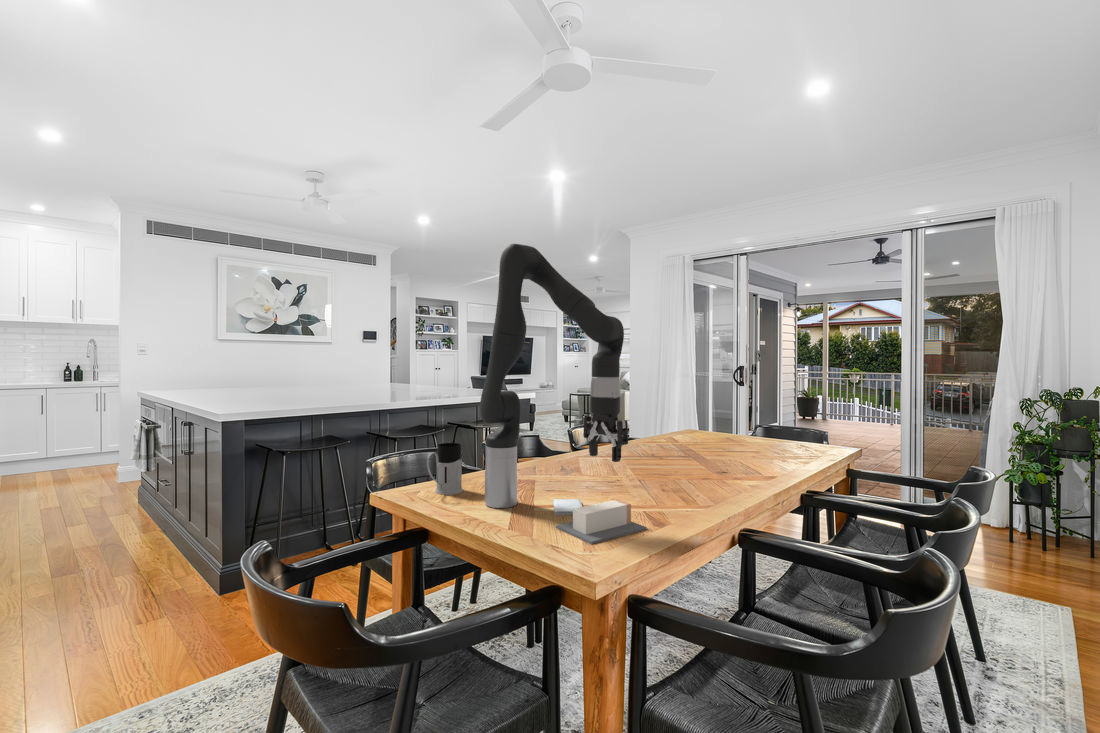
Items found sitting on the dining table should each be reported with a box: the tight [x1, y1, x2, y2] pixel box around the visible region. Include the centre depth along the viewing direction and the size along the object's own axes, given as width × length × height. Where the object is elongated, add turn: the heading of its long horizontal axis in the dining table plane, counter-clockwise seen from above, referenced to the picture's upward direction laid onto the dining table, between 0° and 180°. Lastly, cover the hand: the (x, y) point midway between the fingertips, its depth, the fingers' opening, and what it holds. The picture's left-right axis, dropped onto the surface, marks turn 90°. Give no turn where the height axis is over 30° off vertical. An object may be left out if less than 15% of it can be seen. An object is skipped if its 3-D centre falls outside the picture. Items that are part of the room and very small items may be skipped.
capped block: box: [572, 499, 632, 535], centre depth 129 cm, size 5×5×15 cm
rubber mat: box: [555, 520, 648, 545], centre depth 129 cm, size 14×18×1 cm
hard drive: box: [552, 498, 583, 516], centre depth 146 cm, size 2×8×12 cm
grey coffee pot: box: [426, 442, 464, 496], centre depth 162 cm, size 9×14×15 cm, turn 150°
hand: (604, 458), depth 129 cm, fingers open, 8 cm apart
